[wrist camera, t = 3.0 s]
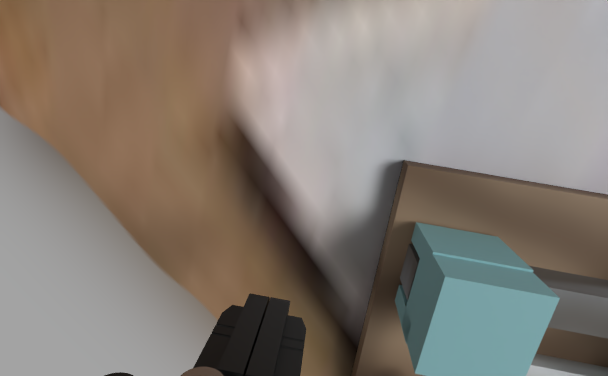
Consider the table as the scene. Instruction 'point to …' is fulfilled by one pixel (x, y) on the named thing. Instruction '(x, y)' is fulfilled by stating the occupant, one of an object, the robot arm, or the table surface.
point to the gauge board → (517, 236)
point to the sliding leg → (472, 306)
